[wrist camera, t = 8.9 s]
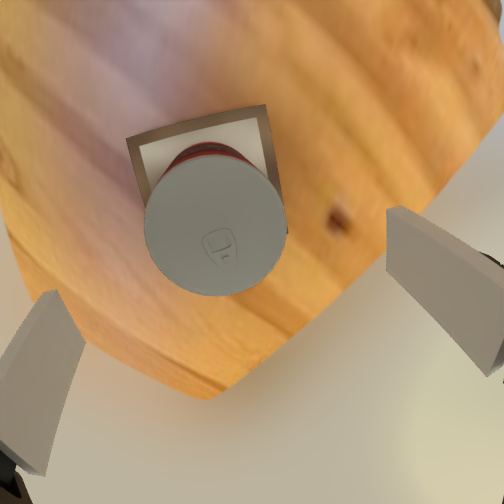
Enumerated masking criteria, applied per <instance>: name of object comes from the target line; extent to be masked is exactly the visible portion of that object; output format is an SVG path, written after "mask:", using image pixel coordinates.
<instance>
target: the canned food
mask: <svg viewBox="0 0 504 504" xmlns="http://www.w3.org/2000/svg"><path fill="white" fill-rule="evenodd" d="M286 234H287V224H286V215H285V211H284V206H283V204H282V202H281V199H280V197H279V195H278V193H277V191H276V189H275V188H274V186H273V185H272V183H271V182H270V181H269V179H268V178H267V177H266V176H265V175H264V174H263V173H262V172H261V171H260V170H259V169H258V168H257V167H256V166H254V165H253V164H252V163H251V162H250V161H249V160H248V159H246V158H245V157H244V156H243V155H242V154H241V153H239V152H238V151H237V150H235V149H234V148H232V147H230V146H228V145H225V144H222V143H217V142H201V143H198V144H194V145H192V146H190V147H188V148H186V149H184V150H183V151H182V152H181V153H179V154H178V155H177V156H176V157H175V159H174V160H173V161H172V162H171V164H170V165H169V167H168V168H167V169H166V171H165V172H164V174H163V175H162V176H161V178H160V179H159V181H158V182H157V183H156V186H155V187H154V189H153V191H152V193H151V195H150V198H149V200H148V203H147V207H146V212H145V217H144V235H145V240H146V245H147V248H148V250H149V253H150V255H151V258H152V259H153V261H154V262H155V264H156V265H157V267H158V268H159V270H160V271H161V272H162V273H163V274H164V275H165V276H166V277H167V278H168V279H169V280H171V281H172V282H173V283H175V284H176V285H178V286H179V287H181V288H183V289H185V290H188V291H190V292H193V293H196V294H200V295H205V296H226V295H232V294H236V293H239V292H242V291H244V290H246V289H248V288H251V287H253V286H254V285H256V284H257V283H258V282H260V281H261V280H262V279H264V278H265V277H266V276H267V275H268V273H269V272H270V271H271V270H272V269H273V268H274V266H275V264H276V263H277V261H278V260H279V258H280V256H281V253H282V251H283V248H284V245H285V239H286Z"/></svg>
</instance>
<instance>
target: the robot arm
mask: <svg viewBox="0 0 504 504" xmlns="http://www.w3.org/2000/svg"><path fill="white" fill-rule="evenodd" d="M386 219H387V256H386V259H387V260H386V271H387V272H388V273H389V274H390V275H391V276H392V277H393V278H394V279H395V280H396V281H397V282H398V283H399V284H400V285H401V286H402V287H403V288H404V289H405V290H406V291H407V292H408V293H409V294H410V295H411V296H412V297H413V298H414V299H415V300H416V301H417V302H418V303H419V304H420V305H421V306H422V307H423V308H424V309H425V310H426V311H427V312H428V313H429V314H430V315H431V316H432V317H433V318H434V319H435V320H436V321H437V322H438V323H439V324H440V326H441V327H442V328H443V329H444V330H445V331H446V332H447V333H448V334H449V335H450V336H451V337H452V338H453V340H455V342H456V343H457V344H458V345H459V346H460V347H461V348H462V349H463V351H464V352H465V353H466V354H467V355H468V356H469V357H470V358H471V360H472V361H473V362H474V363H475V364H476V365H477V367H478V368H479V369H480V370H481V371H482V372H483V373H484V375H485V376H486V377H488V376H489V375H491V374H492V373H494V372H495V371H496V370H498V369H499V368H501V367H502V366H503V364H504V265H503V264H502V265H500V262H498V261H497V260H495V259H494V258H492V257H491V256H489V255H487V254H484V253H481V252H479V251H477V250H475V249H474V248H472V247H471V246H469V245H467V244H466V243H464V242H463V241H461V240H460V239H458V238H456V237H455V236H453V235H452V234H450V233H448V232H447V231H445V230H443V229H442V228H440V227H438V226H437V225H435V224H433V223H432V222H430V221H428V220H427V219H425V218H423V217H421V216H420V215H418V214H416V213H414V212H413V211H411V210H409V209H407V208H405V207H404V206H398V207H394V208H389V209H386ZM85 344H86V342H85V340H84V338H83V337H82V335H81V333H80V331H79V330H78V328H77V326H76V324H75V323H74V321H73V319H72V317H71V316H70V314H69V312H68V310H67V308H66V306H65V304H64V303H63V301H62V299H61V297H60V295H59V293H58V291H57V289H56V290H52V291H48V292H44V293H43V294H42V295H41V296H40V298H39V299H38V301H37V302H36V304H35V305H34V307H33V308H32V309H31V311H30V312H29V314H28V316H27V317H26V319H25V320H24V321H23V323H22V324H21V326H20V327H19V329H18V331H17V332H16V334H15V336H14V337H13V339H12V340H11V342H10V343H9V345H8V347H7V348H6V350H5V352H4V354H3V355H2V357H1V359H0V504H33V503H32V501H31V499H30V497H29V494H28V492H27V489H26V487H25V484H24V482H23V479H22V477H21V476H20V475H19V473H18V472H16V471H15V468H16V465H18V466H19V467H21V468H22V469H23V470H24V471H26V472H27V473H28V474H32V475H38V476H43V477H45V475H46V470H47V466H48V462H49V457H50V453H51V449H52V445H53V441H54V437H55V434H56V430H57V427H58V423H59V420H60V417H61V413H62V410H63V407H64V404H65V400H66V397H67V394H68V391H69V388H70V385H71V382H72V379H73V377H74V373H75V371H76V368H77V365H78V362H79V360H80V357H81V354H82V352H83V349H84V347H85ZM503 383H504V381H503ZM502 504H504V498H503V502H502Z"/></svg>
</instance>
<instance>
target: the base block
mask: <svg viewBox="0 0 504 504" xmlns="http://www.w3.org/2000/svg"><path fill="white" fill-rule="evenodd" d="M126 141H127V145H128V149H129V153H130V156H131V160H132V164H133V167H134V171H135V175H136V178H137V182H138V185H139V189H140V192H141V195H142V199H143V202H144V205H145V208H146V207H147V203H148V200H149V198H150V195H151V193H152V191H153V189H154V187H155V186H156V183H157V182H158V181H159V179H160V178H161V176H162V175H163V174H164V172H165V171H166V169H167V168H168V167H169V165H170V164H171V162H172V161H173V160H174V159H175V157H176V156H177V155H178V154H179V153H181V152H182V151H183V150H184V149H186V148H188V147H190V146H192V145H194V144H198V143H201V142H217V143H222V144H225V145H228V146H230V147H232V148H234V149H235V150H237V151H238V152H239V153H241V154H242V155H243V156H244V157H245V158H246V159H248V160H249V161H250V162H251V163H252V164H253V165H254V166H256V167H257V168H258V169H259V170H260V171H261V172H262V173H263V174H264V175H265V176H266V177H267V178H268V179H269V181H270V182H271V183H272V185H273V186H274V188H275V189H276V191H277V193H278V195H279V197H280V199H281V202H282V204H283V206H284V203H283V197H282V191H281V186H280V180H279V174H278V168H277V163H276V157H275V152H274V146H273V141H272V136H271V130H270V125H269V120H268V115H267V110H266V105H265V104H264V105H258V106H252V107H247V108H242V109H237V110H232V111H227V112H222V113H217V114H213V115H209V116H204V117H200V118H196V119H192V120H188V121H184V122H180V123H176V124H173V125H169V126H166V127H162V128H159V129H155V130H152V131H148V132H145V133H142V134H139V135H135V136H132V137H129V138H126ZM284 211H285V209H284ZM286 224H287V222H286ZM287 234H288V228H287Z"/></svg>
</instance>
